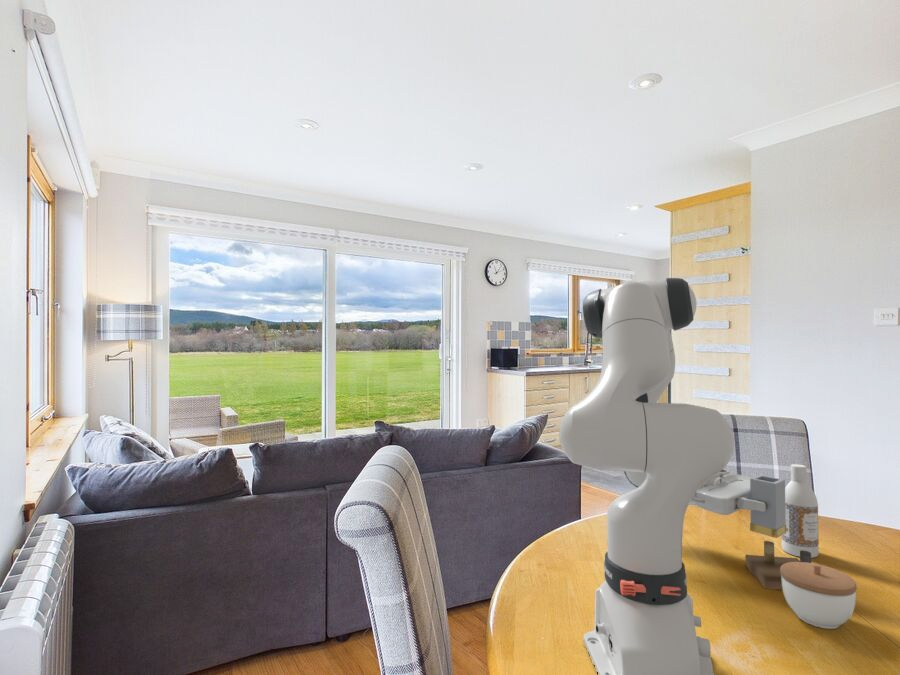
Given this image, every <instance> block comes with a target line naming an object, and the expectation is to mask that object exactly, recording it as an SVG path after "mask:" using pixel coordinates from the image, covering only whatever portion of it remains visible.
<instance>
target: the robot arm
mask: <svg viewBox="0 0 900 675" xmlns="http://www.w3.org/2000/svg"><path fill="white" fill-rule="evenodd" d="M696 312H697V298H696V295H695V292H694V290H693V289H692V287H691V286H690V285H689V282H688V281H686V280H685V279H683V278H682V277H681V278H679V277H666V278H665V279H658V280H646V281H627V282H626V281H625V282H623V283H620V284H618V285H615V286H610V287H607V288H604V289H602V288H599V289H597V290H594V291H592V292H590V293H587V295H585V297H584V299H583V300H582V306H581V320H582V322H583V325H584V327H585V328H586V331H587V333H588V334H589V335H591V336H592V337H594V338H596V339H602V340H601V341H602V361H601V371H600V375H599V378H598V380H597V382H596V384H595V385H594V387H593V388H592V390H590V392H589V393H588V394H587V395H586V396H585V397H584V398H583V399H581V400H580V401H579V402H577V403H575V404H573V405H571V406H570V407H569V409H568V410H566V412H565V413H564V416H563V417H562V418H561V421H560V424H559V431H558V433H559V443H560V446H561V448H562V452H564V455H565V456H566V457H567V459H569V461H571V463H572V464H575V465H578V466H582V467H586V468H591V469H595V470H598V471H599V470H600V471H607V472H608V471H613V472H623V473H624V475H625V477H626V479H627V480H628V482H629V483H630V484H631V485H633V486H634V487H635V489H632V490H630V491H627V492H625V493H623V494H621V495H619V496H617V497H616V498H615V499H614V500H613V501H612V502H611V503H610V505H609V507H608V509H607V513H606V532H607V533H606V535H607V536H606V537H607V539H606V540H607V543H606V544H607V547H606V548H607V551H606V552H605V554H604V561H603V569H604V581H603V583H602V584H601V585H600V586H599V587H598V588H597V589H595V594H594V595H595V596H594V598H595V599H594V629H593V630H590V631H587V632H585V633H584V634H583V637H582V641H583V640H584V643H585V645H586V647H587V650H588V652H589V654H590V656H591V658H592V660H593V663H594V665H595V667H596V670H597V672H598V674H599V675H715V674H714V668H713V663H712V659H711V654H712V652H711V642H710V639H708V638H704V637H701V636H698V635H697V632H696V627H697V628H702V618H701V616H699V615H695V614H694V598H693V597H692V596H691V595H690V594H688V587H687V586H688V584H687V583H688V578H687V572H686V568H685V564H684V562H683V536H684V535H683V534H684V533H683V532H684V523H685V517H686V513H687V509H688V507H689V505H691V506H695V507H697V508H700V509H702V510H706V511H708V512H712V513H714V514H718V515H722V516H729V515H731V514H734V513H736V512H739V511H740V510H747V511H751V510H758V511H762V512H764V511H766V510H767V509H768V507H767V506H768V504H767V502H765V501H761V500H757V501H756V500H750V479H751V478H752V477H750V476H746V475H741V474H737V473H731V471H730V470H729V469H724V468H726V467H727V466H728V464H729V463H730V461H731V459H732V457H733V455H734V450H735V438H734V437H735V436H734V432H733V430H732V427H731V424H730V423H729V421H728V420H727V419H726V418H725V416H724V415H723V414H722V413H720V412H719V411H718V410H717V409H712V408H711V407H710V408H709V407H705V406H701V405H694V404H690V403H679V402H678V403H677V402H676V403H673V402H669V403H666V402H664V403H663V402H658V401H659V399H660V398H661V396H662V395H663V393H664V392H665V390H666V389H667V387H668V385H669V384H670V383H671V381H672V380H673V378H674V375H675V370H676V354H675V349H674V348H675V347H674V344H673V343H674V342H673V337H672V333H671V330H673V331H678V330H681V329H684V328H686V327H688V326H689V325H690V324H691V323H693V321H694V319H695V318H694V317H695V314H696ZM584 643H583V644H584ZM585 645H584V646H585ZM587 650H586V651H587ZM588 652H587V653H588ZM589 654H588V655H589ZM593 663H592V664H593ZM596 670H595V671H596ZM597 672H596V673H597Z"/></svg>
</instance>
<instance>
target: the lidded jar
mask: <svg viewBox="0 0 900 675" xmlns="http://www.w3.org/2000/svg"><path fill="white" fill-rule="evenodd" d="M780 573H781V582H782V589H783V590H782V592H783V593H782V594H783V596H784V598H785V601H786V603H787V605H788V606H789V608H790V609H791V610H792V611H793V612H794V613H795V614H796V616H797V617H798V619H800V621H803V622H804V623H806V624H808V625H811V626H813V627H816V628H820V629H825V630H833V629H834V630H835V629H838V628H840V627H841V625H843V624H845V623H846V622H847V621H849V620H850V618H851V617H852V616H853V614H854V611H855V607H856V601H857V600H856V599H857V597H856V596H857V594H856V593H857V590H858V589H857V588H858V587H857V583H856V581H855V580H854V579H853V578H852V577H851V576H850V575H849V574H846V573H844V572H843V571H841V570H838V569H836V568H832V567H829V566H827V565H822V564H820V563H813V562H811V563H808V562H788V563H785V564H783V565H782V566H781V567H780Z"/></svg>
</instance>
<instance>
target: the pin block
mask: <svg viewBox="0 0 900 675" xmlns="http://www.w3.org/2000/svg"><path fill="white" fill-rule="evenodd" d="M744 557H745V568H746V569H748V571H749V572H750V573H751V574H752V575H753V576H754V578H756V580H757V579H758V580H757V581H758V583H760V584H761V585H762V586H763V587H764V589H765V588H768V589H767V590H778V591H783V589H782V582H781V573H780V567H781V566H782V565H783V564H785V563H788V562H808V563H812V558H811V553H810V552H808V551H803V550H801V551H800V557H799V559H798V557H783V556H775V542H773V541H770V540H764V541H763V555H755V554H745V556H744Z"/></svg>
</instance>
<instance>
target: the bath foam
mask: <svg viewBox="0 0 900 675" xmlns="http://www.w3.org/2000/svg"><path fill="white" fill-rule="evenodd" d="M790 477H791V478H790V481H789V482H788V484H787V485H785V507H786V528H787V532H786V533H785V534H783V535H781V548H782V550H783V551H784V552H785V553H787V554H789V555H792V556H795V557H797V558H798V557H799V558H800V551H801V550H803V551H808V552H810V553H811V559H813V558H816V557H818V556H819V554H820V552H819V548H820V547H819V546H820V544H819V503H818V498H817V495H816V494H815V492H814V490H813V489H812V488H811V486H810V484H809V483H808V482H807V481H808V479H807V478H808V477H807V466H806V465H803V464H799V463H798V464H797V463H795V464H794V463H793V464H790Z"/></svg>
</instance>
